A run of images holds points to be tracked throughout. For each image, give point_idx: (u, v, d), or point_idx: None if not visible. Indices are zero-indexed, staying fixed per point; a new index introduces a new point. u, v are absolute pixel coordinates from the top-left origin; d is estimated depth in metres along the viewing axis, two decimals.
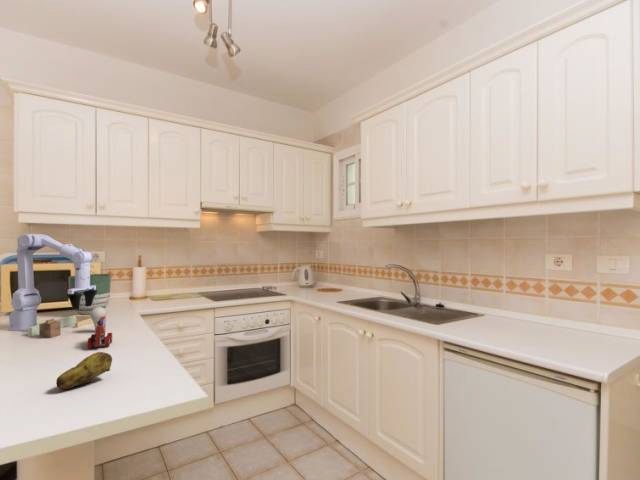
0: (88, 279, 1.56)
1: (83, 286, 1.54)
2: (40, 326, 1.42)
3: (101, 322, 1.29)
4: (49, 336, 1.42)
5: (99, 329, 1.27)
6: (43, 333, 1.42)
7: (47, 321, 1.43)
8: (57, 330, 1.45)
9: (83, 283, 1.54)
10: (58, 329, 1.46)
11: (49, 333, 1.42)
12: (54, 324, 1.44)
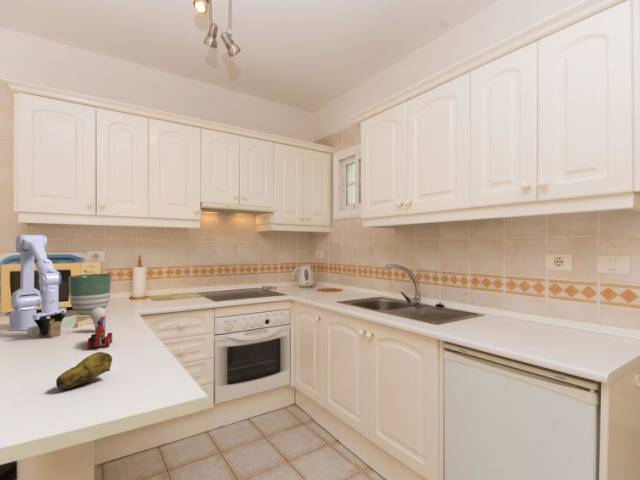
0: (56, 302, 1.45)
1: (50, 310, 1.43)
2: None
3: (101, 322, 1.29)
4: (49, 336, 1.42)
5: (99, 329, 1.27)
6: None
7: None
8: (57, 330, 1.45)
9: (50, 306, 1.42)
10: (58, 328, 1.46)
11: (49, 333, 1.42)
12: (54, 324, 1.44)
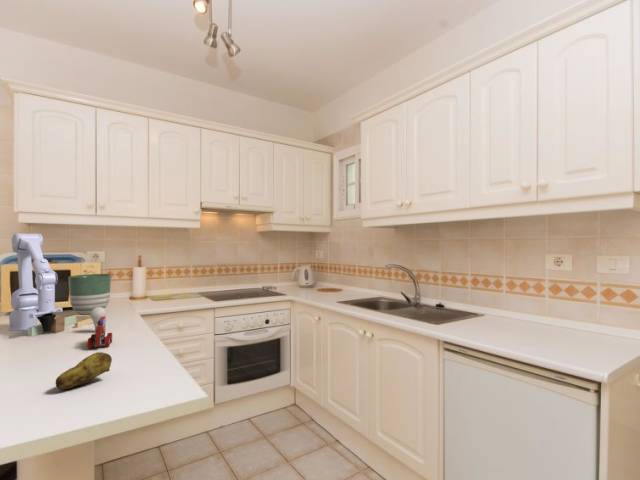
0: (52, 301, 1.48)
1: (47, 309, 1.46)
2: None
3: (101, 322, 1.29)
4: (54, 331, 1.50)
5: (99, 329, 1.27)
6: None
7: None
8: (61, 325, 1.53)
9: (46, 305, 1.46)
10: (62, 324, 1.53)
11: (54, 328, 1.50)
12: (59, 319, 1.52)
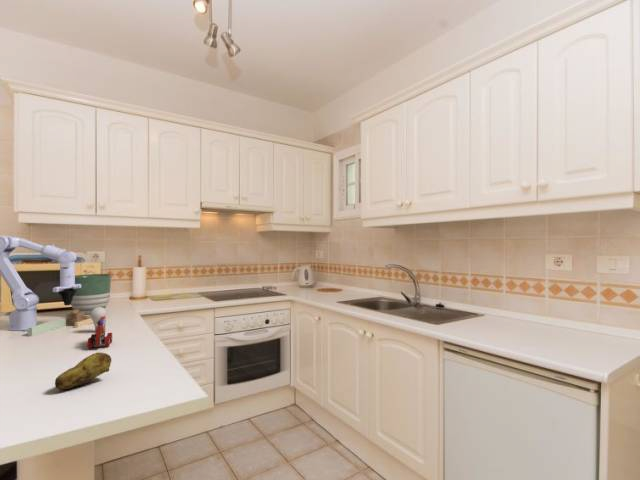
0: (73, 278, 1.63)
1: (68, 284, 1.61)
2: (67, 315, 1.63)
3: (101, 322, 1.29)
4: None
5: (99, 329, 1.27)
6: (70, 321, 1.63)
7: (73, 311, 1.64)
8: (81, 319, 1.66)
9: (67, 281, 1.61)
10: (82, 318, 1.67)
11: (75, 322, 1.63)
12: (79, 314, 1.65)
